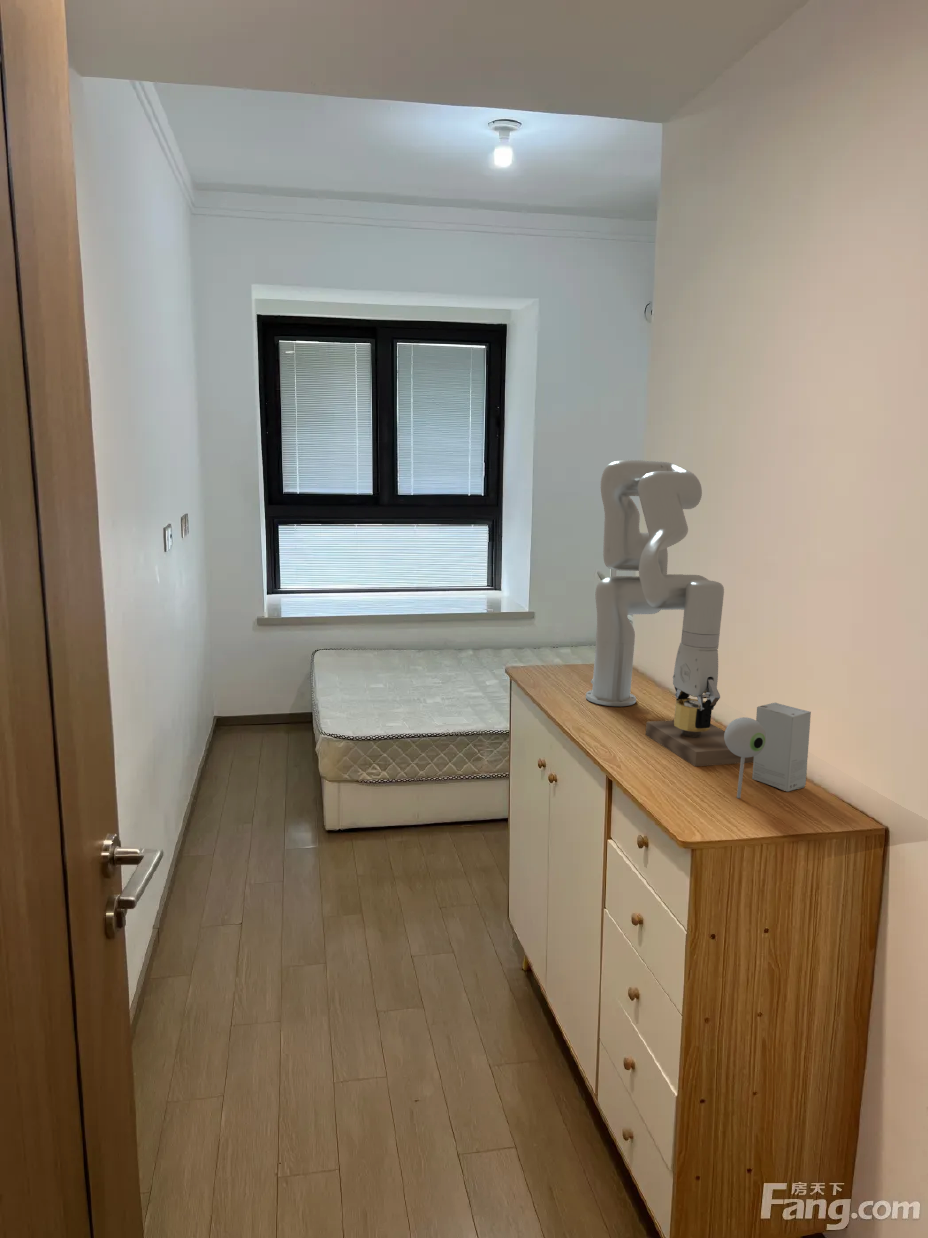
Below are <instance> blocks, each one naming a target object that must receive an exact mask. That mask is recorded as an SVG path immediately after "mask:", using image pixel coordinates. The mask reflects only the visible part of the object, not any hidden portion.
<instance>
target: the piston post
mask: <svg viewBox="0 0 928 1238" xmlns="http://www.w3.org/2000/svg"><path fill="white" fill-rule="evenodd" d="M684 705H685V706H688V707H695V708H699V705H698V701H694V700H687V701H684ZM681 734H682V735H683V736H685V737H690V738H699V737H701V732H693V731H686V730H683V729H682V731H681Z"/></svg>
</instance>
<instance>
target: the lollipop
mask: <svg viewBox="0 0 928 1238" xmlns="http://www.w3.org/2000/svg"><path fill="white" fill-rule="evenodd" d="M724 731H725V733H724V739H725V743H726V746H727V747H728V749H729V750H730V751H731V752H732V753H733V754H735V755H737V756H739V757H741V762H740V763H739V773H738V780H737V781H738V782H737V790H736V791H737V792H736V799H741V795H742V788H743V787H742V786H743V780H744V779H743V777H744V769H745V763H744V761H745V758H748V757H753V756H755V755H757V754H759V753H760V752H761V751H762V750H763V748H764V746H765V744H766V733H765V730H764V728H763V727H762V726H761V724H760V723H758V722H757V721H756V719H753V718H751V717H739V718H735V719H733V720H732V721H731V722H729V724H728V725H726V727H725V730H724Z"/></svg>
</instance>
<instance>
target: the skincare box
mask: <svg viewBox="0 0 928 1238" xmlns="http://www.w3.org/2000/svg"><path fill="white" fill-rule="evenodd" d="M811 713H812V711H810V710H805V709H800V708H797V707H793V706H790V705H785V704H781V703H778V702H772V703H767V704H763V705H759V706H757V707H756V718H755V720H756V721H757V722H758V723H760V724H761V726H762V727H763V728H764V730H765V733H766V744H765V746H764V748H763V750H762V751H761V752H760V753H759V754H757V755H755V756H754V761H753V762H752V763H753V766H752V776H751V777H752V780H755V781H758V782H760V783H762V784H765V785H768V786H771V787H775V788H776V789H779V790H781V791H785V792H792V791H794V790H799V789H803V788H805V786H806V784H807V783H806V782H807V771H808V759H809V757H808V756H809V744H810V742H809V741H810V729H811V716H812V715H811Z"/></svg>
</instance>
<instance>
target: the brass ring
mask: <svg viewBox="0 0 928 1238" xmlns="http://www.w3.org/2000/svg"><path fill="white" fill-rule="evenodd" d="M689 698H690V697H688V699H679V700H675V708H674V719H673V720H674V726H676V727H677V728H679V729H683V730H686V731H693V732H704V731H707V730H709V729H710V727H709V728H696V727H695V723H696V713H697V709H699V708H695V707H688V706H685V705H684V701H687V700H694V701H698V699H697V698H691V699H689ZM705 701H706V700H703V702H705Z"/></svg>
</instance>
